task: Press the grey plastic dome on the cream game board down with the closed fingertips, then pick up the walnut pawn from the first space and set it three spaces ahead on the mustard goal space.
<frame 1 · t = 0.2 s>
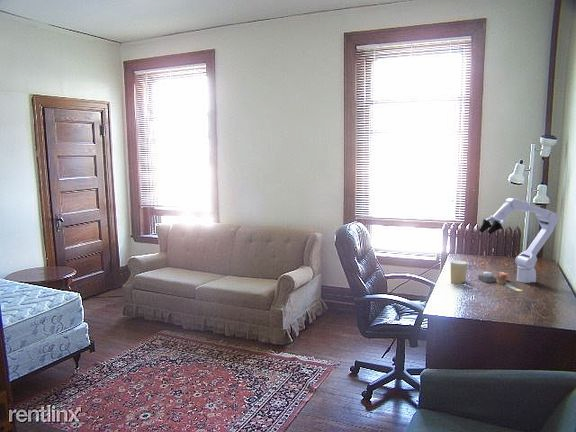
hand: (484, 232, 247), 31 cm above the table, tool tilted 45°, fingers open, 7 cm apart
die: (502, 279, 260), point 1 cm above the table, touching board
board: (503, 286, 250), on the table
coffee cup: (457, 282, 258), on the table
dome: (487, 275, 257), point 4 cm above the table, slide at 0.0 cm
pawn: (502, 283, 251), point 1 cm above the table, touching board
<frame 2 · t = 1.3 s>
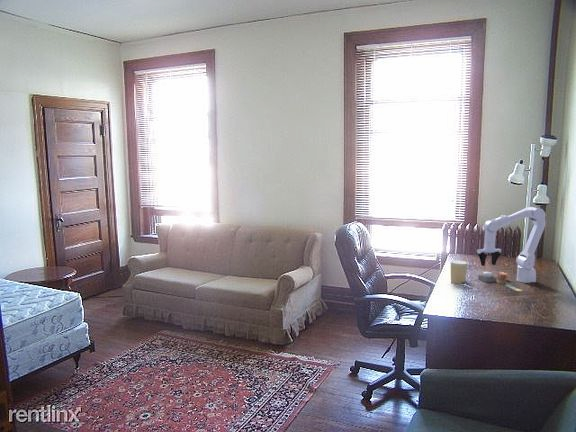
hand: (488, 265, 257), 10 cm above the table, tool pointing down, fingers open, 6 cm apart
nothing on the table moved.
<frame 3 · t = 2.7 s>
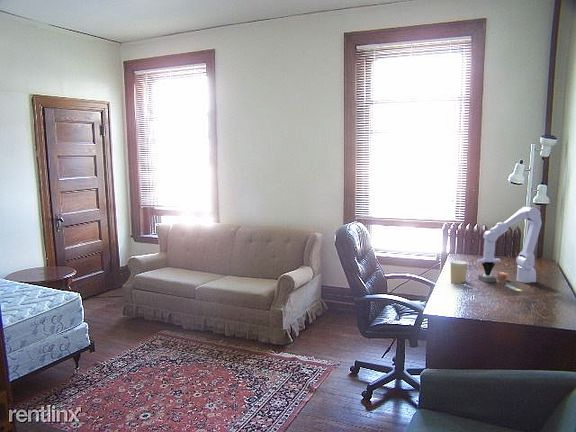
hand: (487, 275, 257), 5 cm above the table, tool pointing down, fingers closed, pressing on dome
dome: (487, 277, 257), point 3 cm above the table, slide at 1.2 cm, touching gripper
everything else where it was.
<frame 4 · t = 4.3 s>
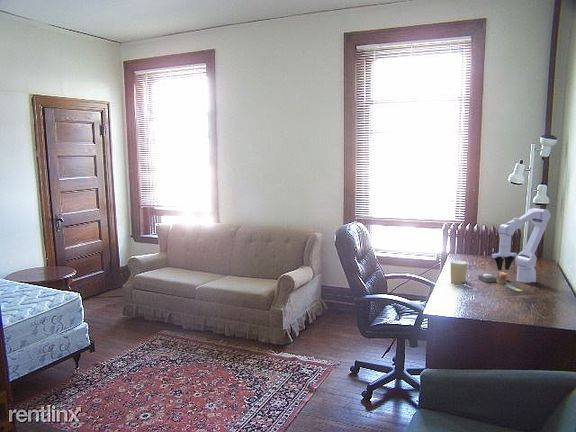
hand: (503, 269, 250), 9 cm above the table, tool pointing down, fingers open, 4 cm apart
dome: (487, 277, 257), point 3 cm above the table, slide at 1.2 cm
everything else where it was.
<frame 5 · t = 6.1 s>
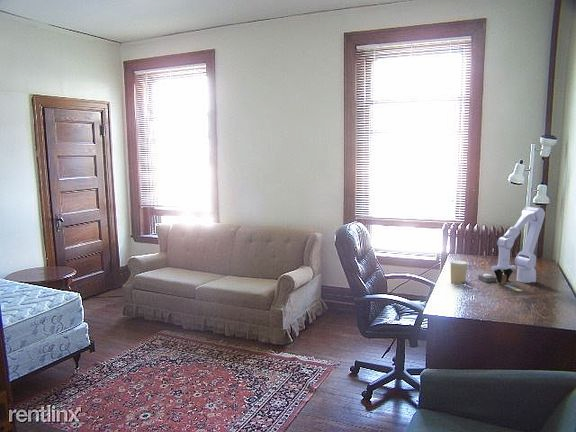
hand: (502, 282, 251), 2 cm above the table, tool pointing down, fingers closed on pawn, 4 cm apart
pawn: (502, 283, 251), point 1 cm above the table, touching board, gripper
everything else where it was.
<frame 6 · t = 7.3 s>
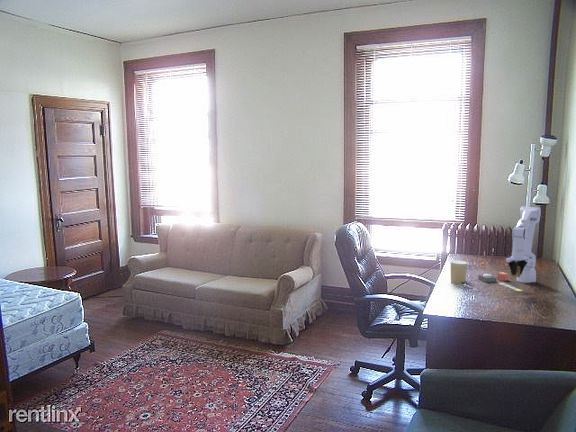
hand: (516, 274, 240), 9 cm above the table, tool pointing down, fingers closed on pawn, 4 cm apart
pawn: (516, 275, 241), point 9 cm above the table, touching gripper
everything else where it was.
when the fingers open (3 cm above the table, at t = 9.0 s): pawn stays where it is, resting on board.
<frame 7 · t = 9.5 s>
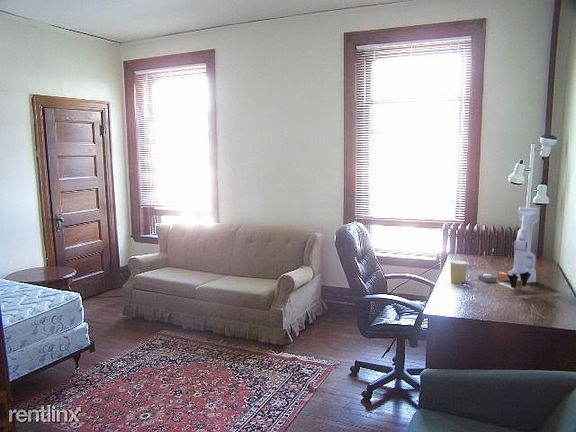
hand: (518, 286, 240), 3 cm above the table, tool pointing down, fingers open, 7 cm apart
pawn: (517, 289, 240), point 1 cm above the table, touching board
everything else where it was.
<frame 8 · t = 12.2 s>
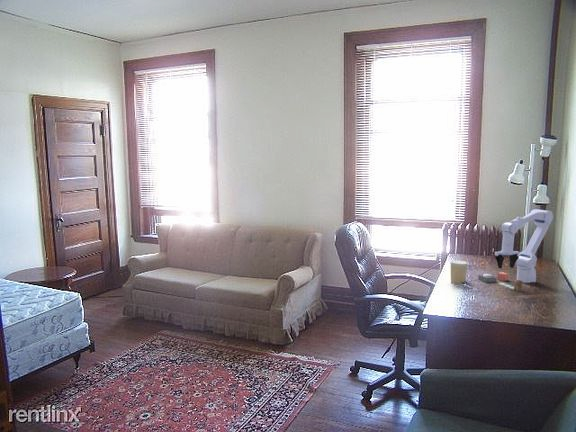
hand: (505, 267, 251), 10 cm above the table, tool pointing down, fingers open, 7 cm apart
nothing on the table moved.
at the end: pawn 0.1 cm from the target spot, point 1.4 cm above the table; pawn tilted 0°; dome slide at 1.2 cm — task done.
